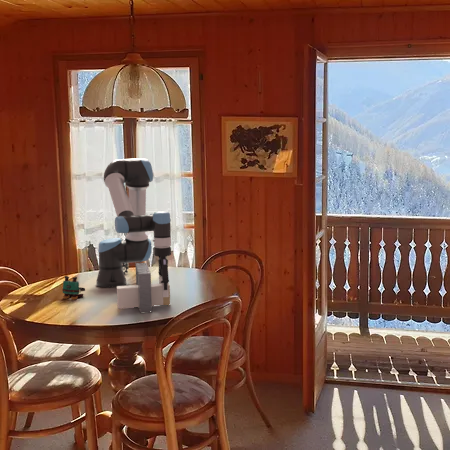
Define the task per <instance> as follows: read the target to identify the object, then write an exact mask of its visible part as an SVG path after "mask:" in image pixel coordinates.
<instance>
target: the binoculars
mask: <svg viewBox="0 0 450 450" xmlns="http://www.w3.org/2000/svg"><path fill="white" fill-rule="evenodd" d="M71 278H72V281H71V280H70V276H68V275H64V280H63V281H62V294H63V297H62V298H63V300H64V299H66V300H67V299H70V298H71V300H73V301H74V300H77V299H78V298H81V297H84V293H81V292H85V291H86V288H85V287H80V282H79V281H77V279H78V276H75V277H71Z"/></svg>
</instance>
